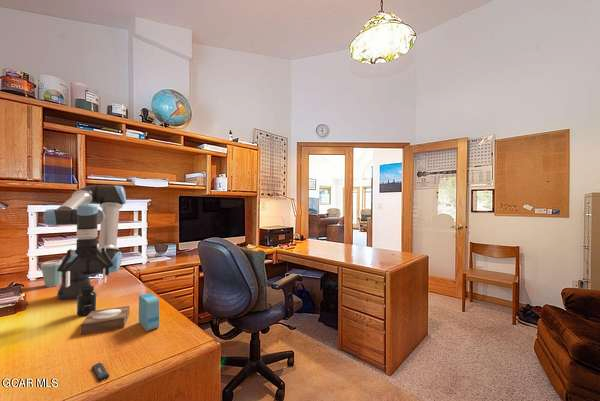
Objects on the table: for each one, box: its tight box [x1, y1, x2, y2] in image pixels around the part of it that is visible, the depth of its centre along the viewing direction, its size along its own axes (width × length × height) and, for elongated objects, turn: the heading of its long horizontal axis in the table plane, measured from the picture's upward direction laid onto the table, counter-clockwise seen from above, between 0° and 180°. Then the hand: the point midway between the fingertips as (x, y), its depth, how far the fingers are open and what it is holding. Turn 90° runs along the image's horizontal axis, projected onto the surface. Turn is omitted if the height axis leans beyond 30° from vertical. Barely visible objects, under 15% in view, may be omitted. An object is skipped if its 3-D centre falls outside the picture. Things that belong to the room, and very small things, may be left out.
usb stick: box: [91, 362, 110, 382], centre depth 78 cm, size 10×3×2 cm, turn 48°
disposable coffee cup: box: [40, 259, 62, 288], centre depth 162 cm, size 11×11×15 cm
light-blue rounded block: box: [138, 292, 160, 332], centre depth 109 cm, size 12×4×12 cm, turn 45°
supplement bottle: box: [76, 285, 97, 317], centre depth 121 cm, size 7×7×12 cm
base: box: [80, 305, 130, 336], centre depth 110 cm, size 14×14×4 cm
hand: (86, 284), depth 121 cm, fingers open, 13 cm apart
